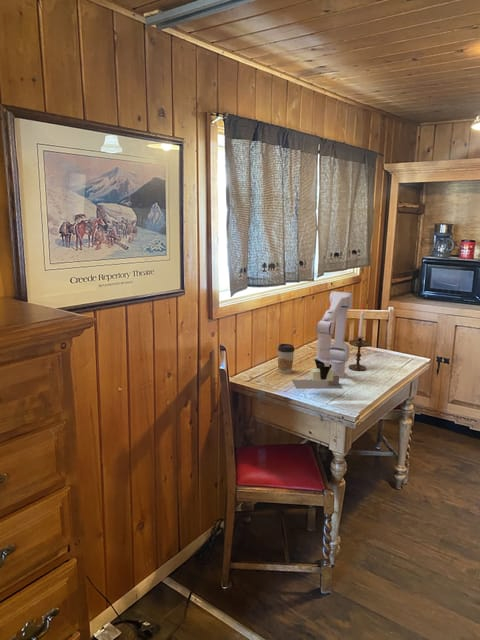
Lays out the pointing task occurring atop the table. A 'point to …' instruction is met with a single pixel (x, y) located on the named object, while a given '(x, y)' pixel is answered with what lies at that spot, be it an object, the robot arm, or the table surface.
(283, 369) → the coffee cup
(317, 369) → the cream rectangular block
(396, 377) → the table surface
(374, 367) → the table surface
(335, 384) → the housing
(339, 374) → the bar
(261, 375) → the table surface
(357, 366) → the candlestick
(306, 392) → the table surface
